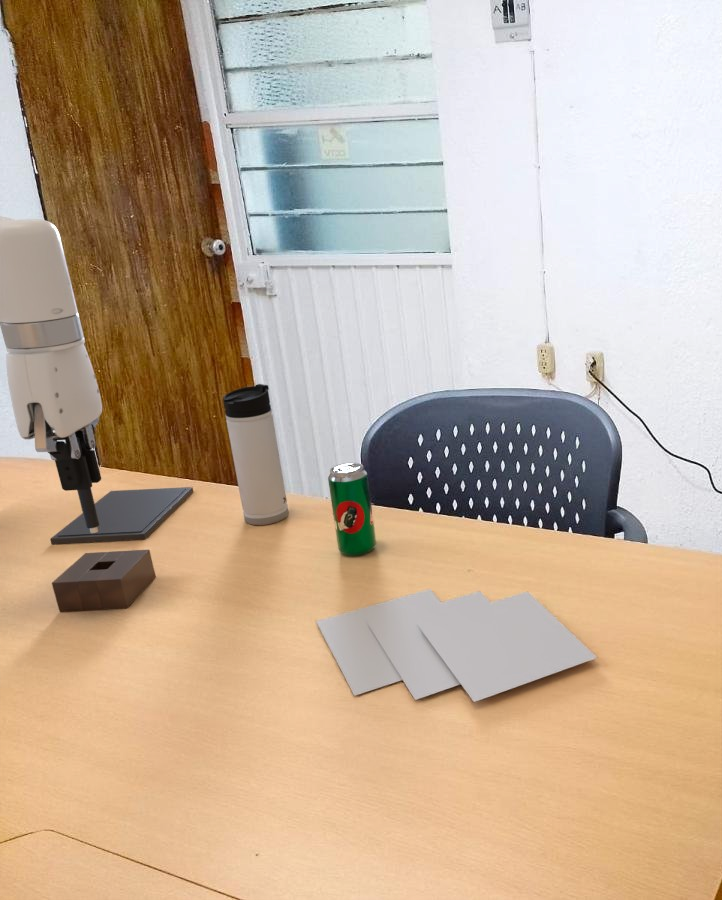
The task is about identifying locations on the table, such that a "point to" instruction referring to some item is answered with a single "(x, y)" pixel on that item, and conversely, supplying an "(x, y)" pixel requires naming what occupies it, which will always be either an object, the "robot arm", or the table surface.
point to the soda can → (352, 509)
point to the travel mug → (256, 455)
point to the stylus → (88, 505)
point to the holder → (104, 580)
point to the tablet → (125, 515)
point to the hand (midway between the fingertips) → (82, 484)
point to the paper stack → (451, 644)
